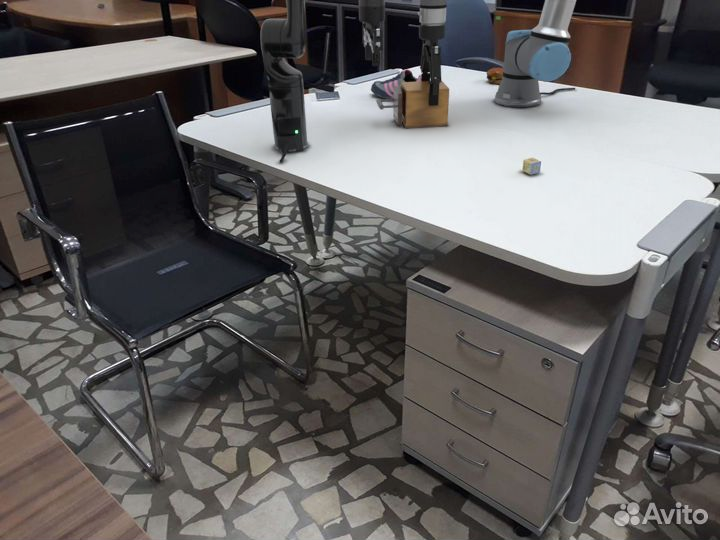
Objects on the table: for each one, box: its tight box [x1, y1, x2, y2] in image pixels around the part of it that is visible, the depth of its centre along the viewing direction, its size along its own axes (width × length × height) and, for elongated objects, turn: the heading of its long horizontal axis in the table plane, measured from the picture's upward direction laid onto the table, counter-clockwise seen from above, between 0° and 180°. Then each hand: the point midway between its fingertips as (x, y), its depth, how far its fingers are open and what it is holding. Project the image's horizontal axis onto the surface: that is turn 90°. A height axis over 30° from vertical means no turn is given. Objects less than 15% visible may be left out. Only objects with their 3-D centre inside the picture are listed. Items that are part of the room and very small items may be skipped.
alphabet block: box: [522, 157, 542, 175], centre depth 139 cm, size 3×3×3 cm
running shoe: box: [370, 69, 421, 100], centre depth 198 cm, size 9×26×11 cm, turn 44°
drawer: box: [375, 86, 406, 126], centre depth 174 cm, size 17×10×9 cm, turn 96°
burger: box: [486, 67, 504, 85], centre depth 219 cm, size 10×9×5 cm
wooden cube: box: [401, 80, 450, 129], centre depth 175 cm, size 13×11×11 cm
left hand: (372, 62), depth 170 cm, fingers open, 8 cm apart
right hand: (429, 100), depth 174 cm, fingers open, 12 cm apart
